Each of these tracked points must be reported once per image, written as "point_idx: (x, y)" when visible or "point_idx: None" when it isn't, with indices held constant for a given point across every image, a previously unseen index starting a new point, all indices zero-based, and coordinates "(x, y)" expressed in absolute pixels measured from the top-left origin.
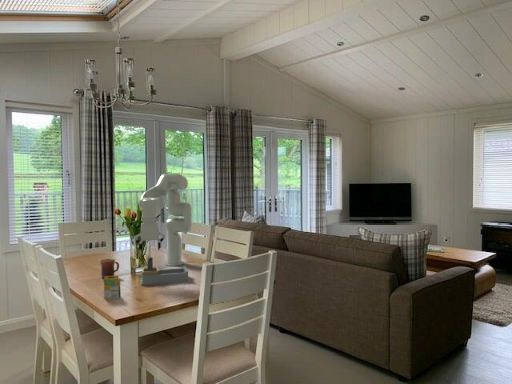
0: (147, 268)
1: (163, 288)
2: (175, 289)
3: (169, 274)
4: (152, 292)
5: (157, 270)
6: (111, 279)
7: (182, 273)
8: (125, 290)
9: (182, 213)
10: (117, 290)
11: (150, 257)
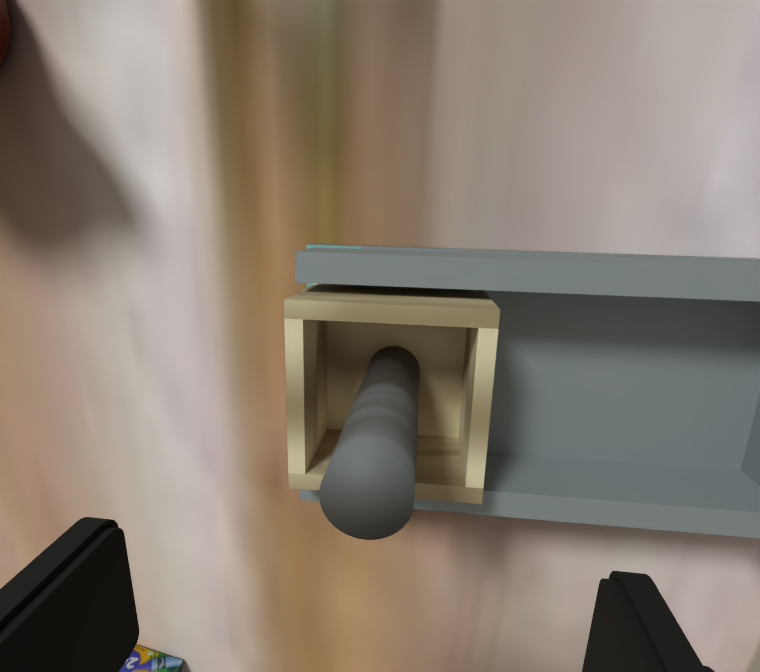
0: (354, 321)
1: (486, 589)
2: (573, 644)
3: (594, 523)
4: (393, 647)
5: (471, 481)
6: None
7: (752, 535)
8: (199, 535)
9: None
10: None
11: (375, 480)
